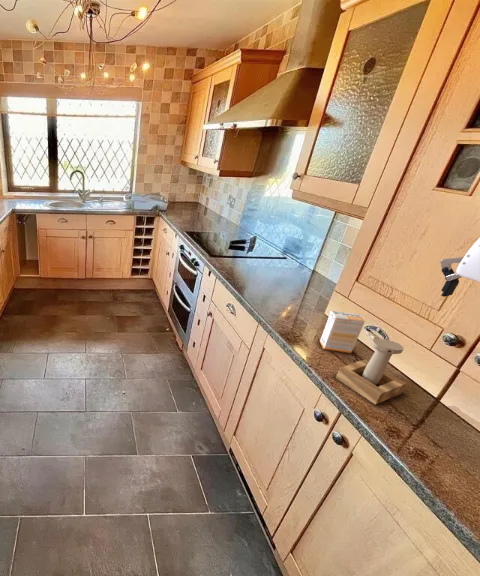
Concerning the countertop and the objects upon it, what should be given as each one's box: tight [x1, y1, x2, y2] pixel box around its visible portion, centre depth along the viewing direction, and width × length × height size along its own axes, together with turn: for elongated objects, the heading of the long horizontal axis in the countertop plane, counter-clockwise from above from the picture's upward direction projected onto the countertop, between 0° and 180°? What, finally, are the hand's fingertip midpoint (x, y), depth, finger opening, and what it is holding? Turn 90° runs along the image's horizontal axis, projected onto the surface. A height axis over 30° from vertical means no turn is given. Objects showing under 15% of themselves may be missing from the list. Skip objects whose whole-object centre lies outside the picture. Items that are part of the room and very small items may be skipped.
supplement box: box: [319, 310, 366, 354], centre depth 104 cm, size 8×5×13 cm, turn 72°
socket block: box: [335, 359, 408, 405], centre depth 89 cm, size 11×11×4 cm
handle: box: [361, 338, 405, 386], centre depth 87 cm, size 5×6×15 cm
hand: (473, 304), depth 72 cm, fingers open, 9 cm apart
